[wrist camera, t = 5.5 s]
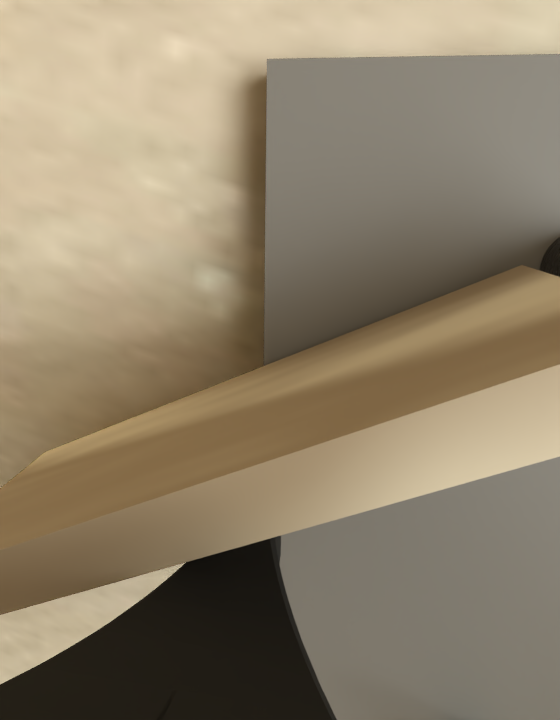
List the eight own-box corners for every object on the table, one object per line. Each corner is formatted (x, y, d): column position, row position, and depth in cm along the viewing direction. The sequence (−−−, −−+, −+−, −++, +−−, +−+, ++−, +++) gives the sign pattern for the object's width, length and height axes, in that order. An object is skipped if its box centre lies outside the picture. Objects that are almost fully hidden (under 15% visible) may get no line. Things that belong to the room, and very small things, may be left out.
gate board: (1054, 62, 8) (1144, 43, 8) (667, 825, 16) (687, 862, 15) (273, 72, 10) (266, 58, 9) (263, 755, 18) (259, 785, 17)
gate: (536, 315, 10) (713, 413, 5) (67, 485, 13) (-86, 639, 8) (522, 264, 10) (694, 319, 5) (45, 451, 13) (-127, 591, 8)
